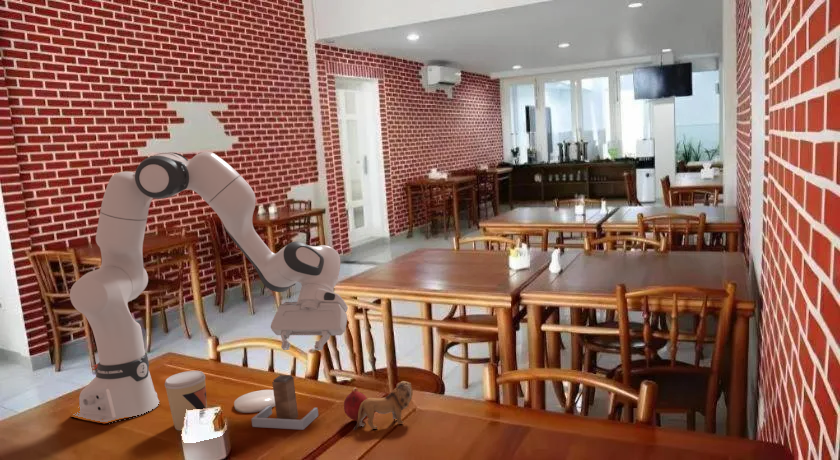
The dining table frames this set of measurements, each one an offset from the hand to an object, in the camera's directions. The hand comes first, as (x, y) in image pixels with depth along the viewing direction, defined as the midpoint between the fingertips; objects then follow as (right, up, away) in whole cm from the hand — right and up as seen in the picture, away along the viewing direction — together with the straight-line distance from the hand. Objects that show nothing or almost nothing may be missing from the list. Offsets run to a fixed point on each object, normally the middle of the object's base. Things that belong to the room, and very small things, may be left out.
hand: (301, 349), depth 160 cm
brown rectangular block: (-2, -15, -8) cm, 17 cm away
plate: (-12, -15, +4) cm, 20 cm away
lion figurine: (+22, -14, -15) cm, 31 cm away
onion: (+16, -15, -13) cm, 25 cm away
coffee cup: (-26, -18, -5) cm, 32 cm away
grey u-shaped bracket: (-2, -15, -8) cm, 17 cm away
